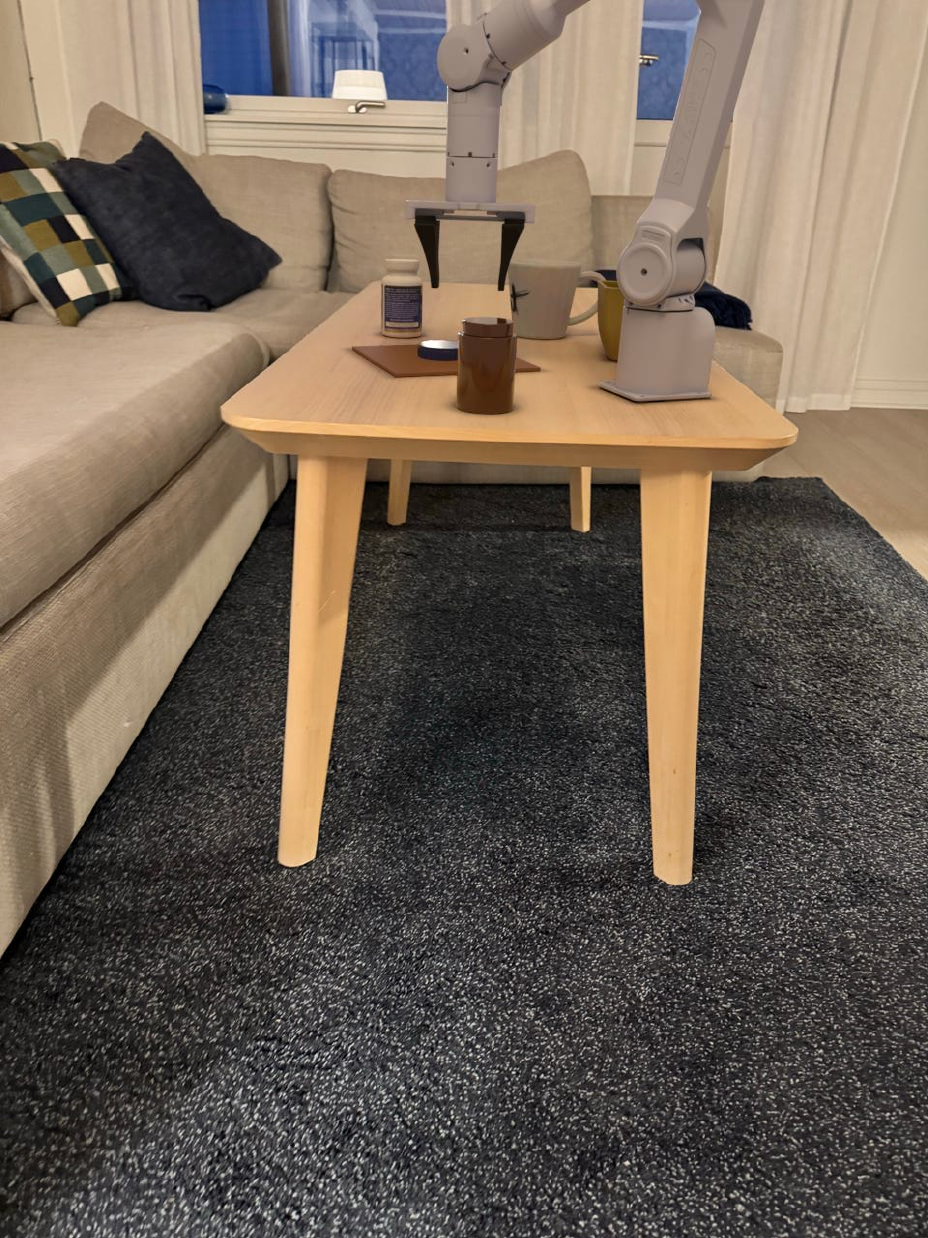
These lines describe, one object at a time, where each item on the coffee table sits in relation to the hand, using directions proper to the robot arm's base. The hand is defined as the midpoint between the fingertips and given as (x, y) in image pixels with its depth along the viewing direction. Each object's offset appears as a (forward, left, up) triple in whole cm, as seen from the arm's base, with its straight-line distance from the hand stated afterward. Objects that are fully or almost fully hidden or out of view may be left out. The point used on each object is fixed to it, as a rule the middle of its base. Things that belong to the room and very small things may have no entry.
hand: (468, 288), depth 106 cm
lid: (+2, -3, -7) cm, 8 cm away
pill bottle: (+1, -22, -9) cm, 24 cm away
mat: (+2, -3, -9) cm, 9 cm away
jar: (+7, +22, -9) cm, 24 cm away
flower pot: (-22, +1, -9) cm, 24 cm away
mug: (-21, -18, -9) cm, 29 cm away
